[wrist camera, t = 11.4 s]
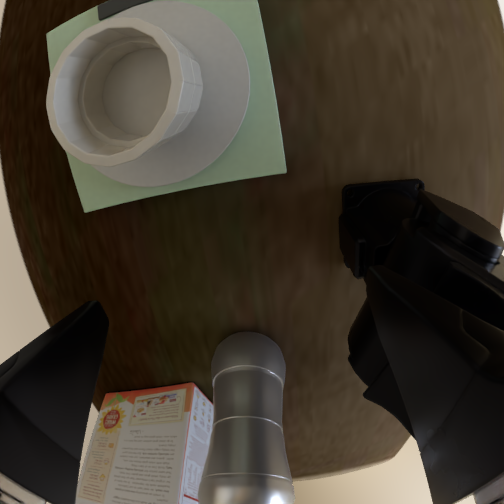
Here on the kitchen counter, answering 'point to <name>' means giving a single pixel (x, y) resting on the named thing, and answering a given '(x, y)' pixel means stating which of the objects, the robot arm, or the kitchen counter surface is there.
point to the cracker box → (148, 447)
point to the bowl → (122, 91)
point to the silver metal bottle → (247, 425)
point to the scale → (210, 108)
